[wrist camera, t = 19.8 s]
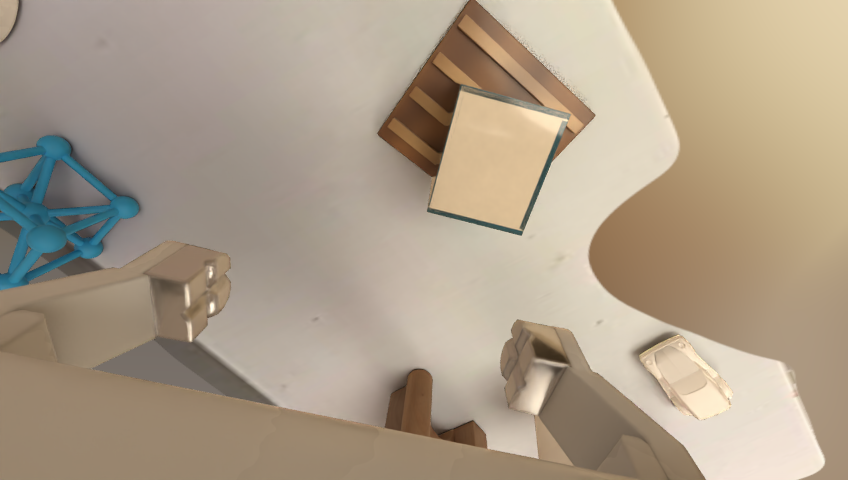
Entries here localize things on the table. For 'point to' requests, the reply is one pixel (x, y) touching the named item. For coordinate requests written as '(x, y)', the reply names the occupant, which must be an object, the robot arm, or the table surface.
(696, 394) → the car
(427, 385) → the wooden toy
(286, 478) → the robot arm
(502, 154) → the mirrored box
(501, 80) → the drying rack
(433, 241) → the table surface
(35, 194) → the molecular structure
